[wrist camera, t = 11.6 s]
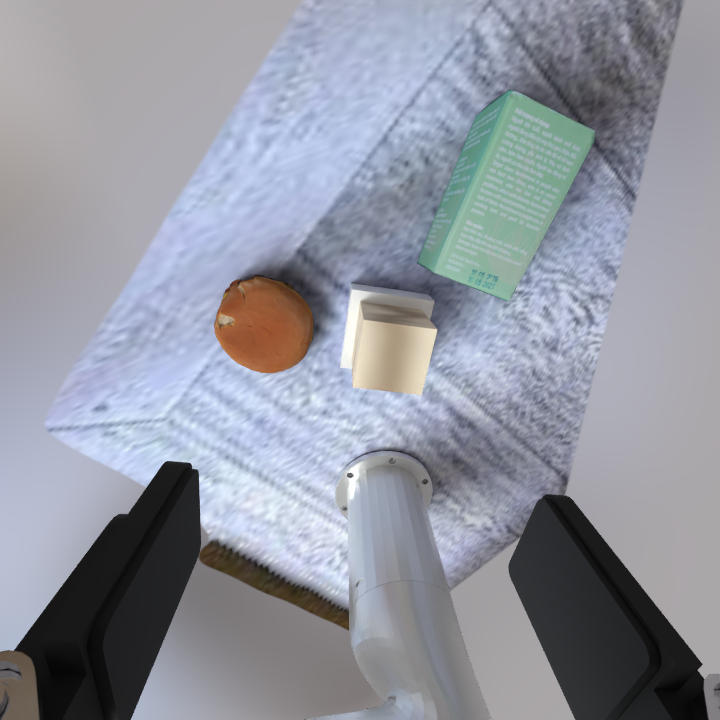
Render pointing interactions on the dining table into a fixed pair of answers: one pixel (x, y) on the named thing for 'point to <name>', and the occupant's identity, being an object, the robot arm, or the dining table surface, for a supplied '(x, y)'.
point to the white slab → (378, 297)
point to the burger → (264, 324)
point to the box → (504, 193)
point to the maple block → (392, 348)
